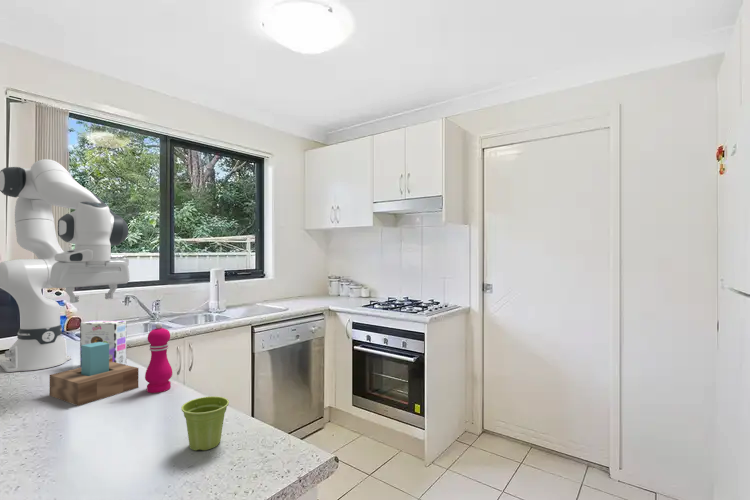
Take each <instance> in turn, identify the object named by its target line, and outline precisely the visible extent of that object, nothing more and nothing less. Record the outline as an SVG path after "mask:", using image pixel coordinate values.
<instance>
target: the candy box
mask: <svg viewBox="0 0 750 500" xmlns="http://www.w3.org/2000/svg"><path fill="white" fill-rule="evenodd" d="M79 328H80V329H79V330H80V331H79V335H80V338H79V340H80V342H79V343H80V347H79V349H80V351H79V352H80V353H79V355H80V357H79V358H80V361H79V362H80V363H79V364H80V365H79V366H80V367H79V368H81V345H86V344H91V343H96V342H103V343H109V361H111V362H115V363H120V364H124V365H127V320H95V319H94V320H89V321H84V322H80V323H79Z"/></svg>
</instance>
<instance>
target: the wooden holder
mask: <svg viewBox="0 0 750 500" xmlns="http://www.w3.org/2000/svg"><path fill="white" fill-rule="evenodd" d="M138 388H139V367H136V366H131V365H127V364H126V365H124V364H120V363H115V362H111V361H109V371H108V372H104V373H100V374H96V375H92V376H85V375H82V374H81V368H80V367H77V368H74V369H68V370H65V371H61V372H60V371H59V372H56V373H51V374H49V389H48V391H49V393H48V394H49V396H50V397H52V398H56V399H58V400H61V401H64V402H66V403H70V404H72V405H75V406H78V407H79V406H83V405H86V404H89V403H90V404H91V403H93V402H96V401H100V400H102V399H106V398H110V397H113V396H117V395H119V394H122V393H125V392H129V391H132V390H134V389H138Z"/></svg>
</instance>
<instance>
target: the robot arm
mask: <svg viewBox="0 0 750 500" xmlns="http://www.w3.org/2000/svg"><path fill="white" fill-rule="evenodd" d="M0 192H1V193H2V195H4V196H7V197H10V198H11V197H12V198H17V199H16V201H15V206H14V226H15V234H16V236H15V237H16V242H17V244H18V246H19V247H20V248H22V249H24V250H27V251H30V252H31V253H33V254H34V255H35V256H36V257H37V258H19V259H12V260H7V261H6V260H5V261H1V262H0V289H1V290H3V291H5V292H6V293H8V294H10V296H12V298H13V299H14V300H15V301H16V304H17V306H18V310H19V323H20V327H19V328H18V332H17V337H16V338H17V339H16V341H15V342H14V343H13V344H12V345H11V346H10V348H9V350H6V351H4V357H5V358H8V360H7V359H6V360H2V361H1V362H0V367H1V368H2V369H3V370H4V371H5V372H6V373H12V372H23V371H25V372H26V371H36V370H44V369H48V368H53V367H56V366H60V365H62V364H65V363H66V362H67V361H69V360H71V359H72V357H71V356H70V355H68V354H67V353H68V352H67V351H68V350H67V339H66V338H64V337H63V336H62V333H63V331H62V330H63V327H62V324H61V306H60V304H59V302H57V301H56V300H54V299H51V298H49V297H45V296H44V295H43V293H42V292H43V291H42V290H43V289H65V292H66V294H67V296H68V297H69V302H70V303H71V304H75V303H79V301H80V300H79V299H80V297H79V296H77V295H75V293H74V292H75V288H81V287H82V288H83V287H96V286H97V287H98V286H108V288H109V290H108V292H105V293H104V298H105V300H112V299H114V294H115V292H116V290H117V289H118V285H122V284H128V283H129V282H130V270H129V263H130V262H129V258H128V257H126V256H125V255H124V254H119V255H118V254H117V255H116V254H112V251H111V250H112V249H111V247H112V246H118V245H120V244H121V243H123V242H124V241H125V240H126V239H127V238H128V235H129V226H128V224H127V222H126V221H125V219H123V217H122V216H121V215H118V214H116V213H115V212H114V211H113V210H112V209H111V208H110V207H109V205H107V204H106V203H105V202H104V201H103V200H102V199H101V198H100V197H99V196H98V195H97V194H96V193H94V192H93V191H91V190H89V189H87V188H86V187H84V186H83V185H81V184H80V183H79V182H78V181H76V179H75V178H74V176H73V175H72V174H71V173H70V172H69V171H68V170H67V168H65V167H64V166H63V165H62V164H61V163H59V162H58V161H56V160H54V159H50V158H44V159H40V160H39V159H38V160H37V161H34V162H33V164H31V166H30V167H29V168H27V167H21V166H20V167H19V166H8V167H4V168H2V169H0ZM53 206H55V207H59V208H65V209H71V210H73V211H72V212H70V213H66V214H64V215H62V216H61V217H60V218H58V219H57V231H56V226H55V218H54V213H53ZM57 236H58V237H59V238H60V239H61V240H62V241H64V242H66V243H69V244H74V249H73V248H72V249H69V250H66V251H65V250H63V249H62V246H61V245H60V243H59V241H58V237H57Z"/></svg>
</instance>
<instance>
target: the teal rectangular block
mask: <svg viewBox="0 0 750 500" xmlns="http://www.w3.org/2000/svg"><path fill="white" fill-rule="evenodd" d="M108 371H109V343H103V342H96V343H91V344H86V345H81V374H82V375H85V376H92V375H96V374H100V373H104V372H108Z"/></svg>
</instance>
